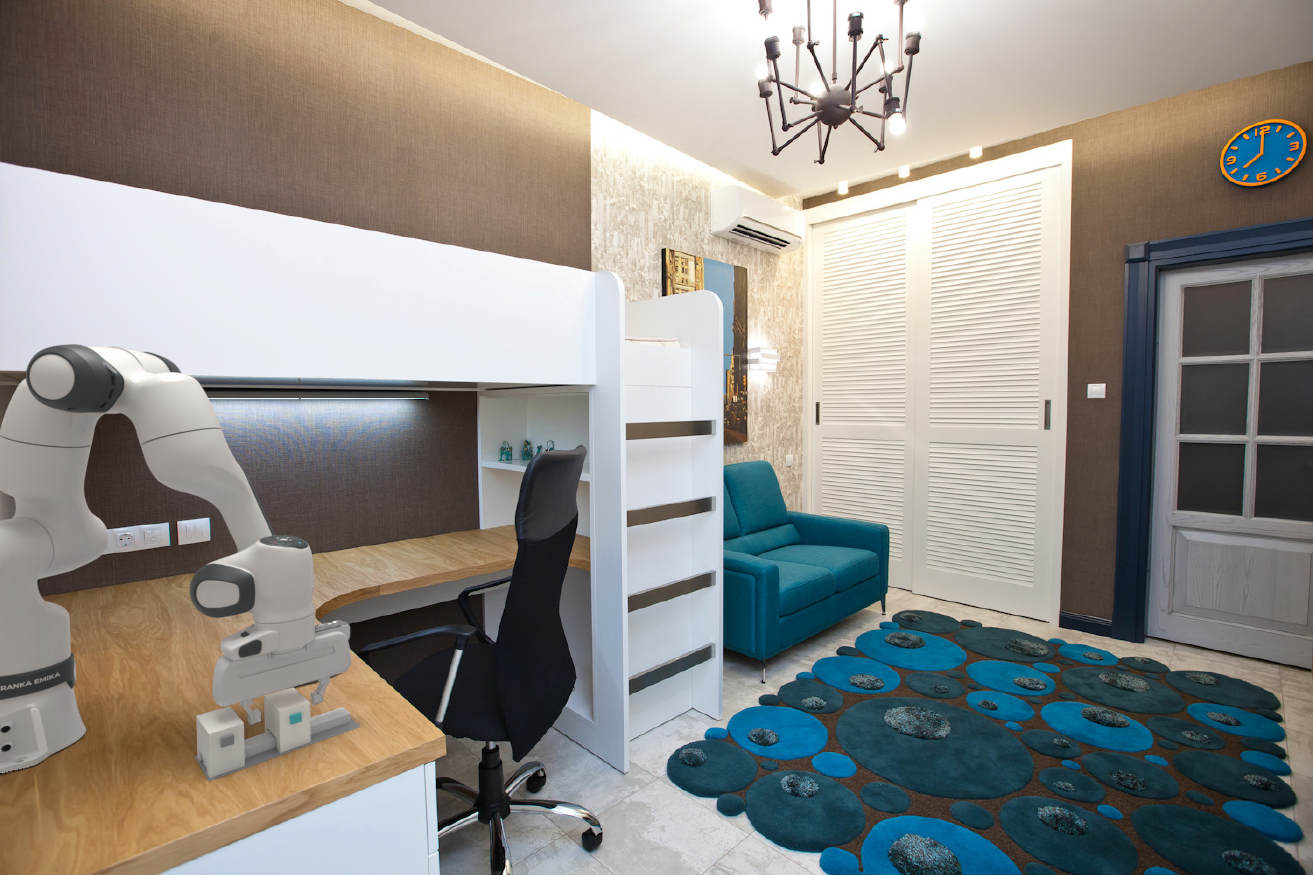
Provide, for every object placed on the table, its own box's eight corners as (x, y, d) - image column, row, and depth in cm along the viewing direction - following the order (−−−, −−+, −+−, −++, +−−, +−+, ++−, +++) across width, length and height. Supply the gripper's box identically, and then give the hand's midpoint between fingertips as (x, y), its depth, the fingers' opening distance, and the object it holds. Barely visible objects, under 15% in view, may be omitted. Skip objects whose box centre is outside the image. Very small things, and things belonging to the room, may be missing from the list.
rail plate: (209, 787, 91) (208, 771, 91) (194, 762, 98) (194, 747, 98) (360, 731, 107) (360, 717, 107) (339, 713, 114) (338, 700, 114)
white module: (281, 754, 98) (280, 712, 98) (264, 734, 104) (263, 695, 104) (311, 743, 102) (311, 703, 101) (294, 724, 108) (293, 687, 108)
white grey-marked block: (210, 779, 91) (209, 735, 91) (197, 757, 98) (196, 715, 97) (245, 767, 95) (244, 724, 94) (230, 746, 101) (229, 705, 101)
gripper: (343, 613, 113) (344, 687, 113) (208, 643, 97) (210, 728, 98) (356, 621, 108) (357, 697, 109) (218, 653, 93) (220, 742, 94)
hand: (286, 712), depth 103 cm, fingers open, 8 cm apart
